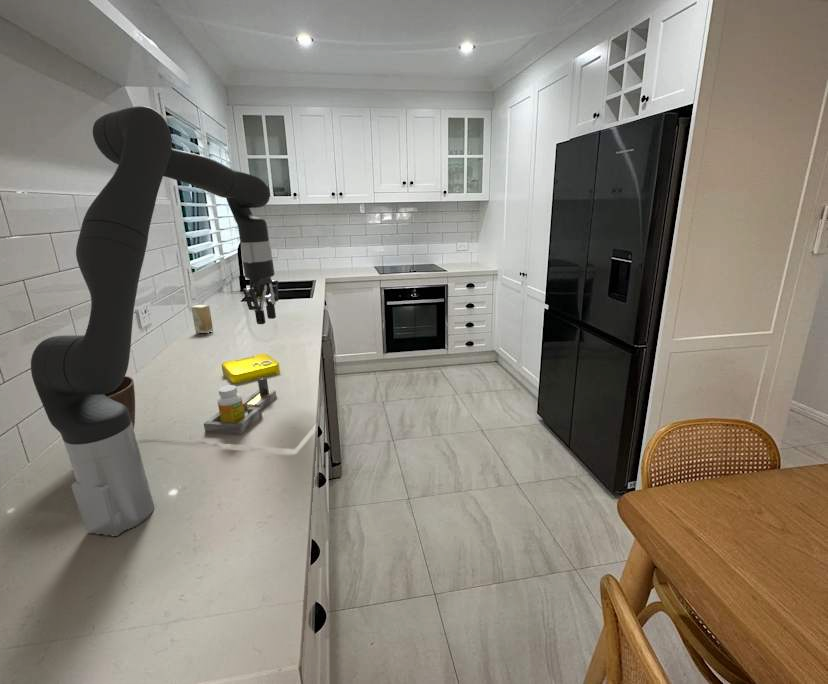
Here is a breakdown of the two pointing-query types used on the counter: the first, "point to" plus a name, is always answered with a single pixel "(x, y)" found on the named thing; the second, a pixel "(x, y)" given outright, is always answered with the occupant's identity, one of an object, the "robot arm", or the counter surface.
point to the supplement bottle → (230, 404)
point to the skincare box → (202, 318)
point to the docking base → (239, 428)
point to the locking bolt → (263, 392)
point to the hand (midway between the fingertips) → (266, 320)
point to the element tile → (250, 368)
